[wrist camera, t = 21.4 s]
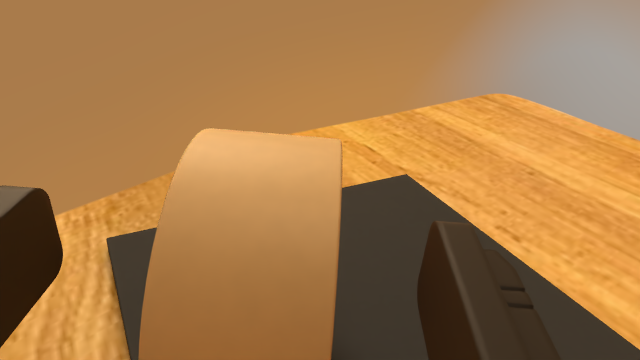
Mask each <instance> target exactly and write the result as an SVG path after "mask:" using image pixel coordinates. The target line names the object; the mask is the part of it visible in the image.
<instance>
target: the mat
mask: <svg viewBox="0 0 640 360" xmlns="http://www.w3.org/2000/svg"><path fill="white" fill-rule="evenodd" d="M433 221H444V222H456V223H469V224H471V225H472V226H473V227H474V229H475V232H476V234H477V236H478V238H479V241H480V243H481V245H482V248H483V249H489V250H497V251H498V252H499V253H500V254H501V255H502V256H503V257H504V258H505V259H506V260H507V261H508V262H509V263H510V264H511V265H512V266H514V267H515V269H516V271H517V273H518V275H519V277H520V279H521V281H522V283H523V285H524V287H525V292H527V293H528V295H529V296H530V298H531V300H532V302H533V304H534V309H536V310H537V312H538V314H539V316H540V318H541V320H542V322H543V324H544V326H545V328H546V330H547V332H548V334H549V336H550V338H551V340H552V342H553V344H554V346H555V348H556V350H557V352H558V354H559V356H560V358H561V360H640V350H639V349H638V348H636V347H635V346H634V345H632V344H631V343H630V342H628V341H627V340H626V339H624V338H623V337H622V336H620V335H619V334H618V333H616V332H615V331H614V330H612V329H611V328H610V327H608V326H607V325H606V324H604V323H603V322H602V321H601V320H599V319H598V318H597V317H595V316H594V315H593V314H591V313H590V312H589V311H587V310H586V309H585V308H583V307H582V306H581V305H579V304H578V303H577V302H575V301H574V300H573V299H571V298H570V297H569V296H567V295H566V294H565V293H563V292H562V291H561V290H559V289H558V288H557V287H555V286H554V285H553V284H551V283H550V282H549V281H547V280H546V279H545V278H543V277H542V276H541V275H539V274H538V273H537V272H536V271H534V270H533V269H532V268H530V267H529V266H528V265H526V264H525V263H524V262H522V261H521V260H520V259H518V258H517V257H516V256H514V255H513V254H512V253H510V252H509V251H508V250H506V249H505V248H504V247H502V246H501V245H500V244H498V243H497V242H496V241H494V240H493V239H492V238H490V237H489V236H488V235H486V234H485V233H484V232H482V231H481V230H480V229H478V228H477V227H476V226H474V225H473V224H472V223H470V222H469V221H468V220H467V219H465V218H464V217H463V216H461V215H460V214H459V213H457V212H456V211H455V210H453V209H452V208H451V207H449V206H448V205H447V204H445V203H444V202H443V201H441V200H440V199H439V198H437V197H436V196H435V195H433V194H432V193H431V192H429V191H428V190H427V189H425V188H424V187H423V186H421V185H420V184H419V183H417V182H416V181H415V180H413V179H412V178H411V177H409V176H408V175H407V174H405V175H401V176H396V177H391V178H387V179H382V180H377V181H373V182H368V183H363V184H358V185H354V186H349V187H344V188H342V197H341V220H340V239H339V256H338V272H337V287H336V302H335V315H334V329H333V341H332V354H331V360H429V359H428V354H427V349H426V344H425V339H424V335H423V330H422V325H421V320H420V315H419V310H418V304H417V285H418V278H419V273H420V269H421V264H422V260H423V256H424V252H425V247H426V243H427V239H428V234H429V230H430V227H431V224H432V223H433ZM156 230H157V228H152V229H148V230H143V231H138V232H133V233H129V234H124V235H119V236H115V237H110V238H107V245H108V250H109V255H110V260H111V265H112V270H113V275H114V279H115V284H116V289H117V294H118V299H119V304H120V309H121V314H122V319H123V324H124V329H125V334H126V339H127V344H128V349H129V353H130V358H131V360H138V359H139V338H140V328H141V317H142V308H143V301H144V293H145V286H146V279H147V274H148V268H149V263H150V258H151V252H152V248H153V243H154V239H155V235H156Z"/></svg>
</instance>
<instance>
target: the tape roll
mask: <svg viewBox="0 0 640 360" xmlns="http://www.w3.org/2000/svg"><path fill="white" fill-rule="evenodd" d="M341 197H342V143H341V140H340V139H334V138H321V137H309V136H297V135H285V134H273V133H261V132H248V131H236V130H224V129H211V128H207V129H205V130H202V131H200V132H199V133H198V134H197V135H196V136H195V137H194V138H193V140H192V141H191V142H190V144H189V145H188V147H187V148H186V150H185V152H184V154H183V155H182V157H181V159H180V161H179V164H178V166H177V168H176V171H175V173H174V175H173V178H172V181H171V183H170V186H169V189H168V192H167V195H166V198H165V201H164V205H163V208H162V212H161V215H160V219H159V222H158V226H157V230H156V235H155V239H154V243H153V248H152V252H151V258H150V263H149V268H148V274H147V279H146V286H145V293H144V301H143V308H142V317H141V328H140V338H139V359H138V360H331V354H332V341H333V329H334V315H335V302H336V287H337V272H338V256H339V239H340V220H341Z"/></svg>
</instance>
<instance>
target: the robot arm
mask: <svg viewBox="0 0 640 360" xmlns="http://www.w3.org/2000/svg"><path fill="white" fill-rule="evenodd" d="M62 259H63V249H62V245H61V241H60V237H59V233H58V229H57V225H56V221H55V218H54V214H53V210H52V206H51V202H50V199H49V196H48V194H47V193H46V192H45V191H44V190H43V189H40V188H28V187H15V186H0V348H1V346H2V345H3V344H4V342H5V341H6V340H7V339H8V337H9V336H10V335H11V334H12V332H13V331H14V330H15V329H16V327H17V326H18V325H19V324H20V322H21V321H22V320H23V318H24V317H25V316H26V315H27V313H28V312H29V311H30V310H31V308H32V307H33V306H34V305H35V303H36V302H37V301H38V300H39V298H40V297H41V296H42V295H43V293H44V292H45V291H46V289H47V288H48V287H49V286H50V284H51V283H52V282H53V281H54V279H55V278H56V277H57V275H58V273H59V271H60V268H61V264H62ZM417 304H418V310H419V315H420V320H421V325H422V330H423V335H424V339H425V344H426V349H427V354H428V359H429V360H561V358H560V356H559V354H558V352H557V350H556V348H555V346H554V344H553V342H552V340H551V338H550V336H549V334H548V332H547V330H546V328H545V326H544V324H543V322H542V320H541V318H540V316H539V314H538V312H537V310H536V309H534V304H533V302H532V300H531V298H530V296H529V295H528V293H527V292H525V287H524V285H523V283H522V281H521V279H520V277H519V275H518V273H517V271H516V269H515V267H514V266H512V265H511V264H510V263H509V262H508V261H507V260H506V259H505V258H504V257H503V256H502V255H501V254H500V253H499V252H498V251H497V250H489V249H483V248H482V245H481V243H480V241H479V238H478V236H477V234H476V232H475V229H474V227H473V226H472V225H471V224H469V223H456V222H444V221H433V223H432V224H431V227H430V230H429V234H428V239H427V243H426V247H425V252H424V256H423V260H422V264H421V269H420V273H419V278H418V285H417Z"/></svg>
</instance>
